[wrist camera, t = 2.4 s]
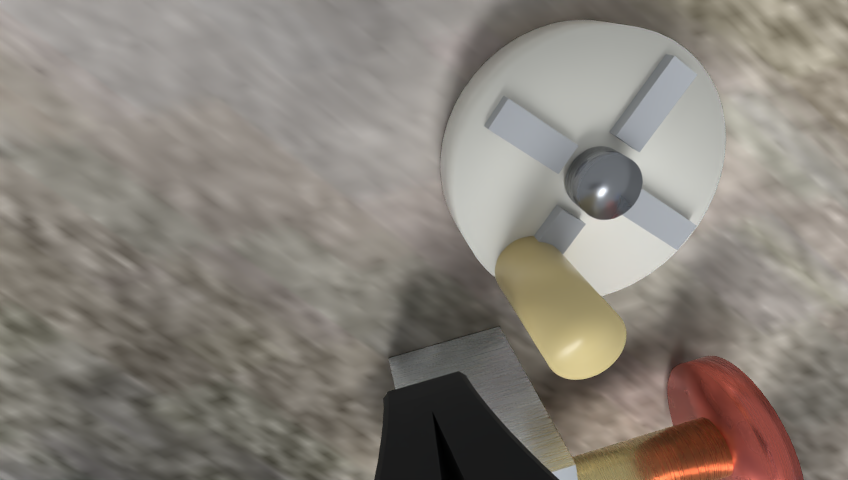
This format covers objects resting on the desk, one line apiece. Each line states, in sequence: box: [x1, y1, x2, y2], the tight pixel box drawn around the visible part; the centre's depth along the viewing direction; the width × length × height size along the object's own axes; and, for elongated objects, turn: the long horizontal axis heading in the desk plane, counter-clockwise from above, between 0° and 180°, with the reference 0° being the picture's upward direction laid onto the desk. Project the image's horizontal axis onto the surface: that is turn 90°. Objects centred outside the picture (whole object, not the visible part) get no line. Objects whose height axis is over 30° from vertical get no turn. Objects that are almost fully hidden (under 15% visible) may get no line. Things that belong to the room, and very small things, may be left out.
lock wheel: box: [440, 20, 726, 380], centre depth 15 cm, size 8×8×6 cm
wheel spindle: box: [565, 146, 643, 220], centre depth 16 cm, size 2×2×1 cm
